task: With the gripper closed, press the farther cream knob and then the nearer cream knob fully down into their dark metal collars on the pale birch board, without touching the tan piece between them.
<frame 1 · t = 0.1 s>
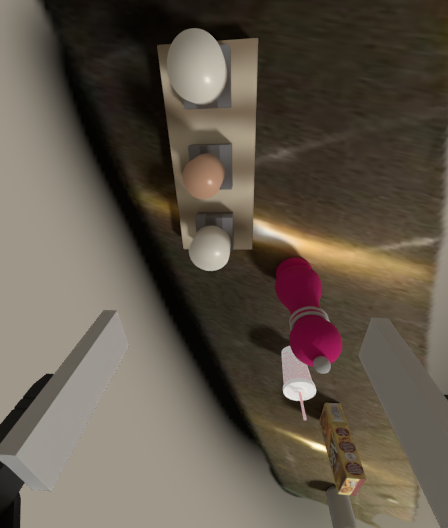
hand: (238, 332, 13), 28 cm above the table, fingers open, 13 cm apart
knob board: (215, 162, 35), on the table
can: (335, 488, 87), on the table
pepper mill: (293, 271, 43), on the table
knob 1: (200, 73, 23), point 8 cm above the table, slide at 0.0 cm
beverage cup: (291, 352, 53), on the table
tan piece: (206, 173, 27), point 9 cm above the table, slide at 0.0 cm
candy box: (329, 410, 63), on the table
knob 2: (211, 244, 32), point 8 cm above the table, slide at 0.0 cm
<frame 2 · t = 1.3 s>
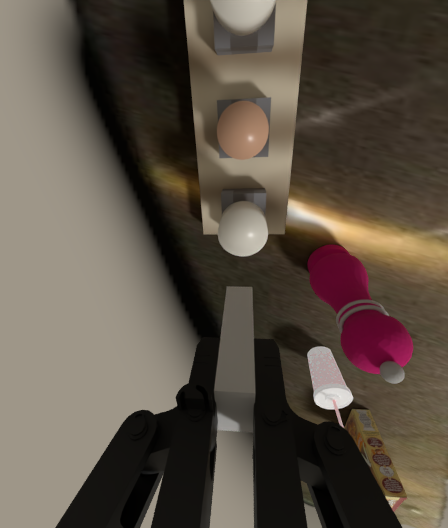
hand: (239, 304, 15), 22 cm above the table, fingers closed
knob board: (244, 128, 29), on the table
pepper mill: (327, 261, 37), on the table
beverage cup: (319, 353, 48), on the table
tan piece: (243, 130, 21), point 9 cm above the table, slide at 0.0 cm
candy box: (355, 417, 58), on the table
knob 2: (243, 224, 26), point 8 cm above the table, slide at 0.0 cm
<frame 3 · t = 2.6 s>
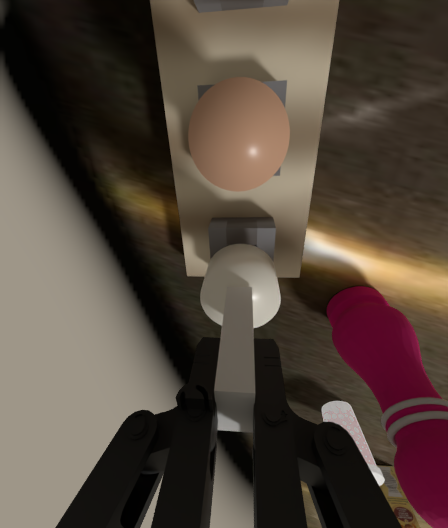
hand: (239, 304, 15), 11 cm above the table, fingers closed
knob board: (242, 131, 20), on the table
pepper mill: (353, 306, 28), on the table
beverage cup: (336, 407, 39), on the table
tan piece: (240, 136, 12), point 9 cm above the table, slide at 0.0 cm
candy box: (376, 472, 49), on the table
knob 2: (240, 276, 17), point 8 cm above the table, slide at 0.2 cm, touching gripper
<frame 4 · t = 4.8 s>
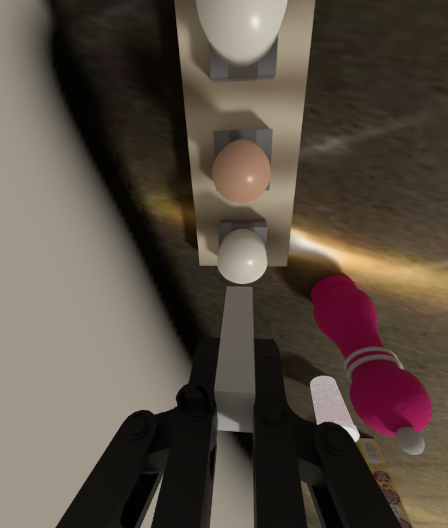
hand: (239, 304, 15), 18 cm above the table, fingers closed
knob board: (243, 156, 27), on the table
pepper mill: (332, 291, 35), on the table
knob 1: (242, 15, 15), point 8 cm above the table, slide at 0.0 cm
beverage cup: (322, 382, 45), on the table
tan piece: (241, 167, 19), point 9 cm above the table, slide at 0.0 cm
candy box: (360, 446, 55), on the table
knob 2: (242, 250, 26), point 6 cm above the table, slide at 2.7 cm
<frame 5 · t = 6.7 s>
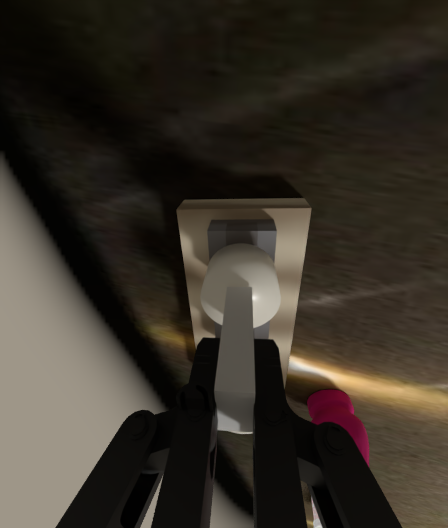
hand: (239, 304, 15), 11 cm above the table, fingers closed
knob board: (242, 304, 29), on the table
pepper mill: (327, 399, 37), on the table
knob 1: (240, 276, 17), point 8 cm above the table, slide at 0.8 cm, touching gripper
knob 2: (241, 397, 28), point 6 cm above the table, slide at 2.7 cm
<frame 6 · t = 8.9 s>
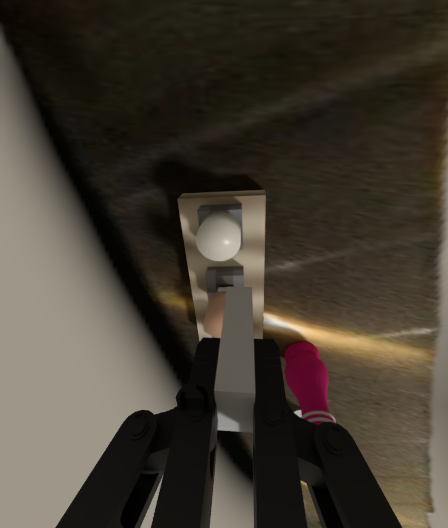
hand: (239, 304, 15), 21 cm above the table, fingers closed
knob board: (227, 271, 38), on the table
pepper mill: (300, 352, 46), on the table
knob 1: (220, 232, 29), point 6 cm above the table, slide at 2.7 cm
tan piece: (223, 307, 31), point 9 cm above the table, slide at 0.0 cm
knob 2: (228, 339, 38), point 6 cm above the table, slide at 2.7 cm
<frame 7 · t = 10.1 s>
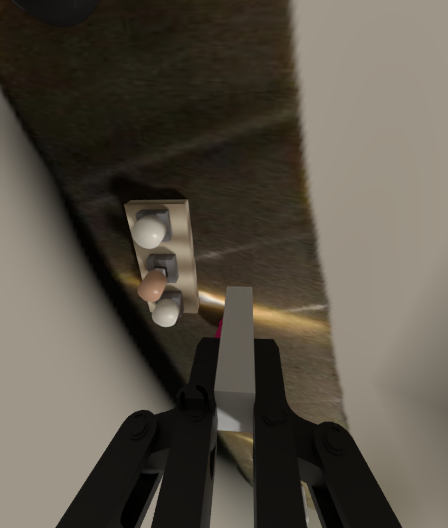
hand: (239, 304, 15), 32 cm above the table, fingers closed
knob board: (169, 258, 52), on the table
can: (294, 484, 103), on the table
knob 1: (151, 228, 42), point 6 cm above the table, slide at 2.7 cm
tan piece: (155, 281, 44), point 9 cm above the table, slide at 0.0 cm
knob 2: (167, 308, 51), point 6 cm above the table, slide at 2.7 cm
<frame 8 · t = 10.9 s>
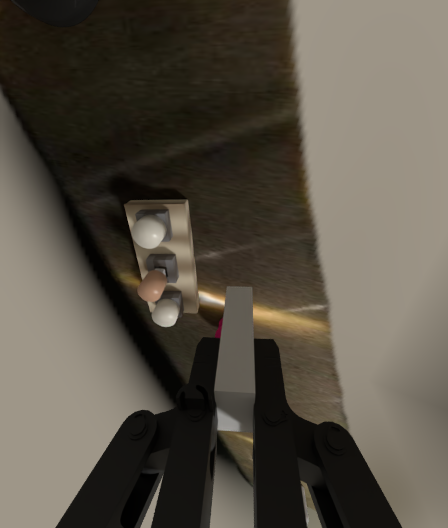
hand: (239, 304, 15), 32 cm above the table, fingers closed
knob board: (169, 258, 52), on the table
can: (294, 484, 103), on the table
knob 1: (151, 228, 42), point 6 cm above the table, slide at 2.7 cm
tan piece: (155, 281, 44), point 9 cm above the table, slide at 0.0 cm
knob 2: (167, 308, 51), point 6 cm above the table, slide at 2.7 cm
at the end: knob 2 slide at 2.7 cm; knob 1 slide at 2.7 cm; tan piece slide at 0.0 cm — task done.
